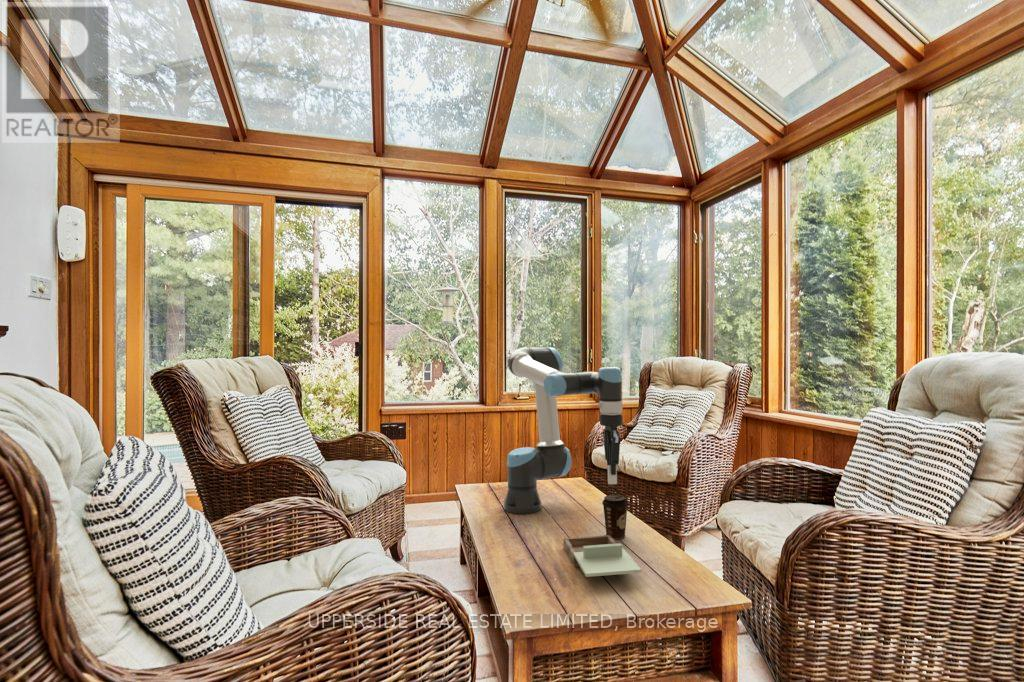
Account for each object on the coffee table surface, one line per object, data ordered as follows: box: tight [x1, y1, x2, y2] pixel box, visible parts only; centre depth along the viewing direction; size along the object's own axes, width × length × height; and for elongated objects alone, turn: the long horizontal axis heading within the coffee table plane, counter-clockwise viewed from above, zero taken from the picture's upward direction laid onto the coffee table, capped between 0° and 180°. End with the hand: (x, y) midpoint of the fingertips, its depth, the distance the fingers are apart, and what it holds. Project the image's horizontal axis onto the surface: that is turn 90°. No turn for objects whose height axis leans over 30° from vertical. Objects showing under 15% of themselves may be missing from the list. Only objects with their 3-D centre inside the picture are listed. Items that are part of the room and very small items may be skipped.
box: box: [563, 534, 617, 568], centre depth 154 cm, size 14×15×3 cm
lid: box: [574, 542, 642, 578], centre depth 140 cm, size 14×15×4 cm
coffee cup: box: [601, 494, 629, 540], centre depth 169 cm, size 9×8×13 cm
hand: (612, 483), depth 168 cm, fingers closed
